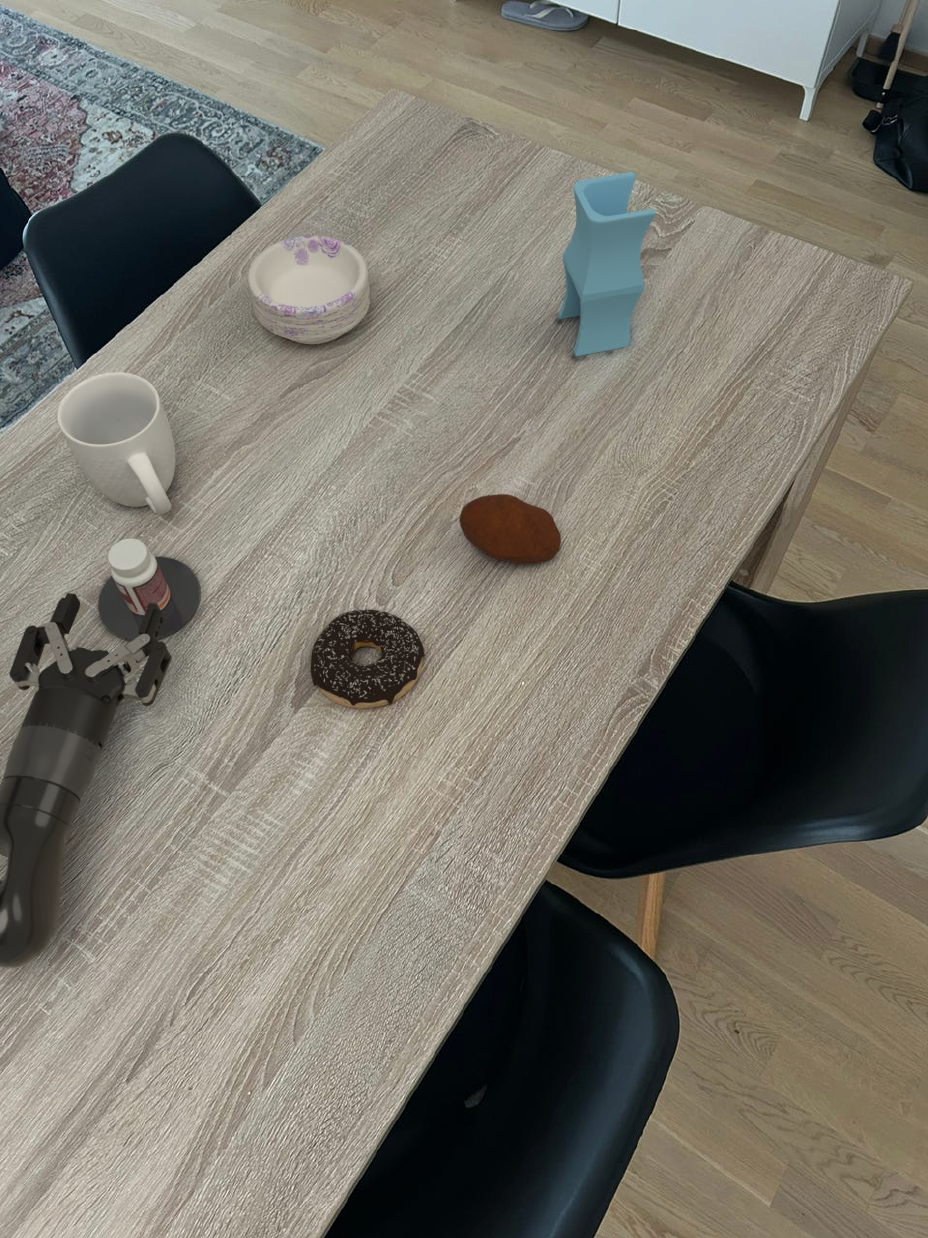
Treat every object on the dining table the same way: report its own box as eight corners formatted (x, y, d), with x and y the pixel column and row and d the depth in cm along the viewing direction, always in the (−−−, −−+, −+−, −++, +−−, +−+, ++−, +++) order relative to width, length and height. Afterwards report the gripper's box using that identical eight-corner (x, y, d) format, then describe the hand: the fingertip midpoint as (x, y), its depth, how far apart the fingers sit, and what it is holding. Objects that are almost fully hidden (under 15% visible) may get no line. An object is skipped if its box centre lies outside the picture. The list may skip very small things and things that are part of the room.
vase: (633, 345, 135) (657, 212, 118) (575, 356, 134) (590, 223, 117) (614, 305, 139) (634, 170, 122) (557, 315, 138) (569, 181, 121)
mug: (219, 516, 120) (193, 439, 109) (132, 560, 117) (96, 486, 106) (162, 436, 127) (133, 356, 116) (78, 476, 124) (39, 398, 112)
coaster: (88, 640, 112) (86, 637, 111) (112, 556, 117) (111, 554, 117) (189, 645, 111) (188, 642, 111) (209, 561, 117) (208, 558, 116)
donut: (314, 625, 112) (309, 604, 109) (423, 619, 113) (422, 599, 109) (312, 716, 106) (307, 698, 103) (427, 710, 107) (426, 692, 103)
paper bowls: (352, 269, 143) (346, 220, 136) (387, 343, 135) (383, 294, 128) (244, 297, 140) (233, 247, 133) (274, 373, 132) (263, 325, 126)
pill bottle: (174, 581, 115) (155, 535, 108) (166, 617, 112) (145, 573, 105) (132, 579, 115) (109, 533, 108) (122, 615, 113) (99, 571, 105)
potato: (553, 585, 115) (558, 542, 108) (451, 568, 116) (450, 525, 109) (563, 531, 119) (569, 486, 112) (465, 515, 120) (464, 470, 113)
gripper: (1, 754, 100) (60, 613, 109) (143, 773, 99) (191, 630, 108) (-31, 718, 94) (34, 572, 103) (121, 739, 93) (174, 589, 101)
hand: (115, 602), depth 105 cm, fingers open, 8 cm apart
